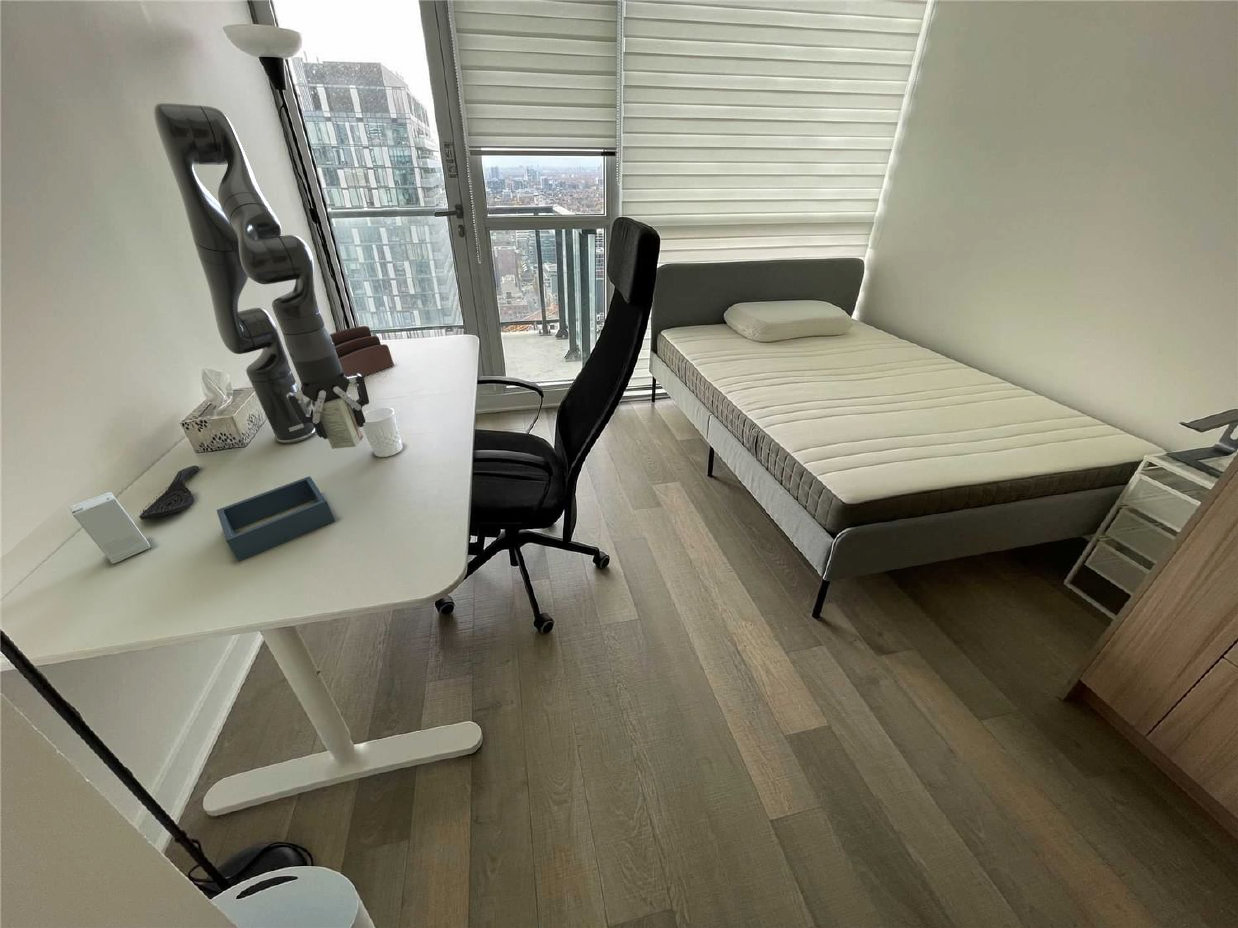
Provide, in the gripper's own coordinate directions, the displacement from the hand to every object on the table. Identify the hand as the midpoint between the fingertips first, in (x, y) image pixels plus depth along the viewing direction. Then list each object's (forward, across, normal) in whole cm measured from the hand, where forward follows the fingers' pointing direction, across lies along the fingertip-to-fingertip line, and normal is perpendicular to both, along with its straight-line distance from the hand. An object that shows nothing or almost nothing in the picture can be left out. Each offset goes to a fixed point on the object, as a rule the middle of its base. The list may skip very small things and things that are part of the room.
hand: (343, 431), depth 104 cm
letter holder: (+15, -23, -78) cm, 83 cm away
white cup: (+15, -10, -15) cm, 24 cm away
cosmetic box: (+15, +41, -12) cm, 45 cm away
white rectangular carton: (+3, 0, 0) cm, 3 cm away
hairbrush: (+15, +32, -30) cm, 46 cm away
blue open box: (+15, +17, 0) cm, 22 cm away
